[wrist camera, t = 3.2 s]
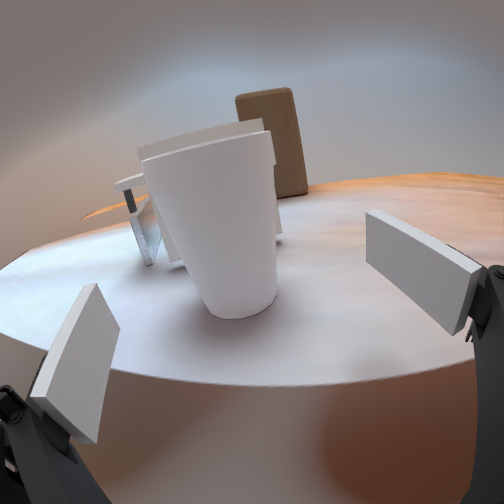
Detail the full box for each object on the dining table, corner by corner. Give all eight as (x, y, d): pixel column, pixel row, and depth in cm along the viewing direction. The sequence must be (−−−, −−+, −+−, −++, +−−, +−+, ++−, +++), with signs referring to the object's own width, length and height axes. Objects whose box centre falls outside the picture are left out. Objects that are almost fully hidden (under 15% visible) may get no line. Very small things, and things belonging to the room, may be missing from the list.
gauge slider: (282, 232, 31) (261, 117, 25) (138, 270, 29) (102, 160, 23) (269, 219, 36) (251, 121, 30) (145, 251, 34) (116, 157, 28)
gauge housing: (276, 243, 32) (258, 140, 27) (140, 279, 30) (105, 181, 25) (247, 205, 48) (233, 139, 43) (157, 229, 47) (138, 165, 41)
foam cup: (313, 277, 24) (293, 126, 18) (254, 347, 18) (204, 146, 12) (232, 262, 30) (204, 142, 24) (169, 311, 23) (119, 168, 18)
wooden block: (255, 203, 49) (233, 95, 40) (256, 190, 58) (238, 100, 49) (309, 194, 48) (291, 85, 39) (301, 183, 57) (286, 92, 48)
